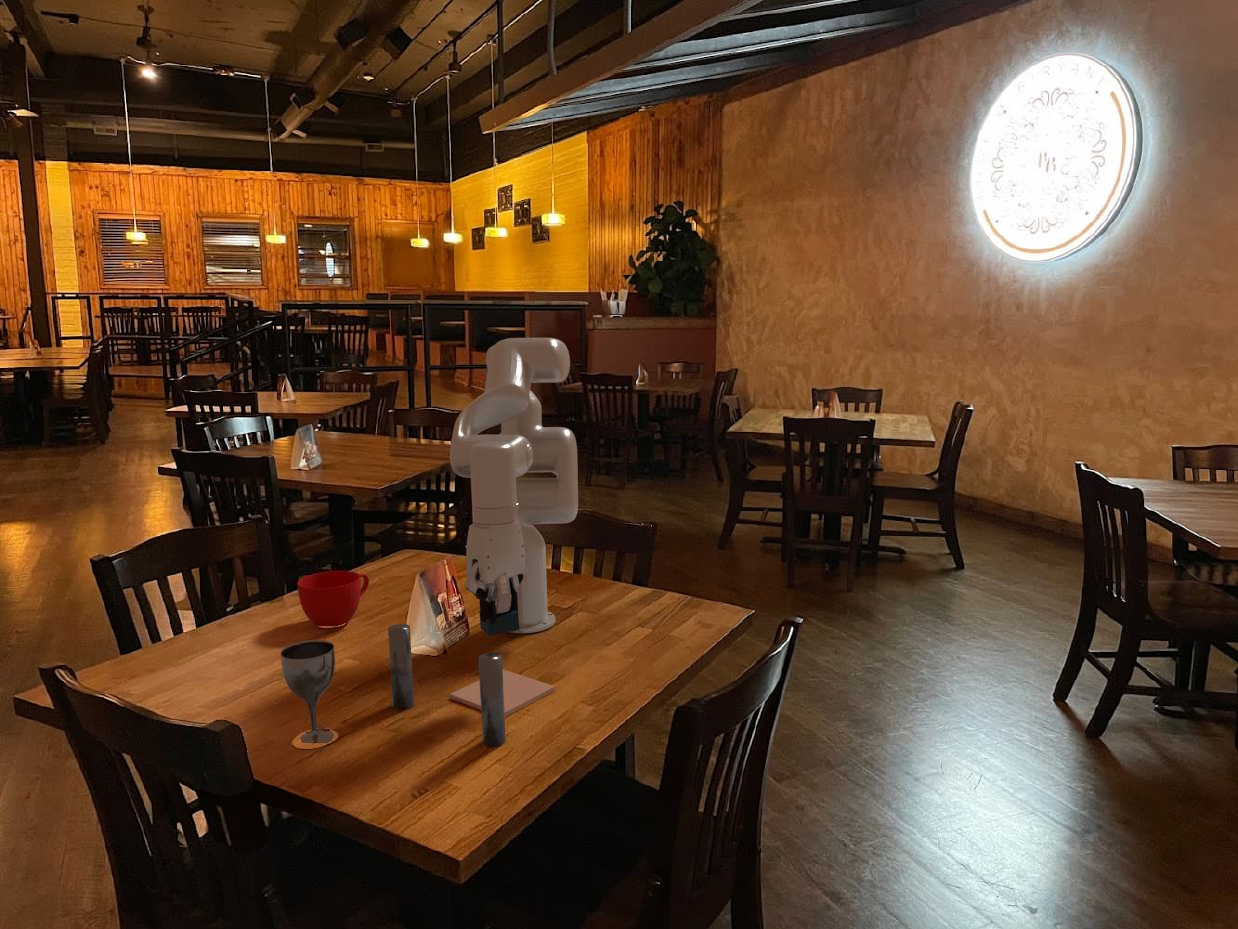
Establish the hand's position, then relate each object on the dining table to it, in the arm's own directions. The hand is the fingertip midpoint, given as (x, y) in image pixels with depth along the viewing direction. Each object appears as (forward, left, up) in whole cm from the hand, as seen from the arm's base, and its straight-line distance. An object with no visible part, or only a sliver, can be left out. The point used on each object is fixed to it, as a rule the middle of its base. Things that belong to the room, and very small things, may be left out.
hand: (499, 616), depth 153 cm
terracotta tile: (0, 0, -14) cm, 14 cm away
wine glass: (-13, -29, -15) cm, 35 cm away
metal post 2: (+11, -13, -14) cm, 22 cm away
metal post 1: (-11, -13, -14) cm, 22 cm away
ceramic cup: (-56, +6, -15) cm, 58 cm away
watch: (0, 0, -2) cm, 2 cm away
